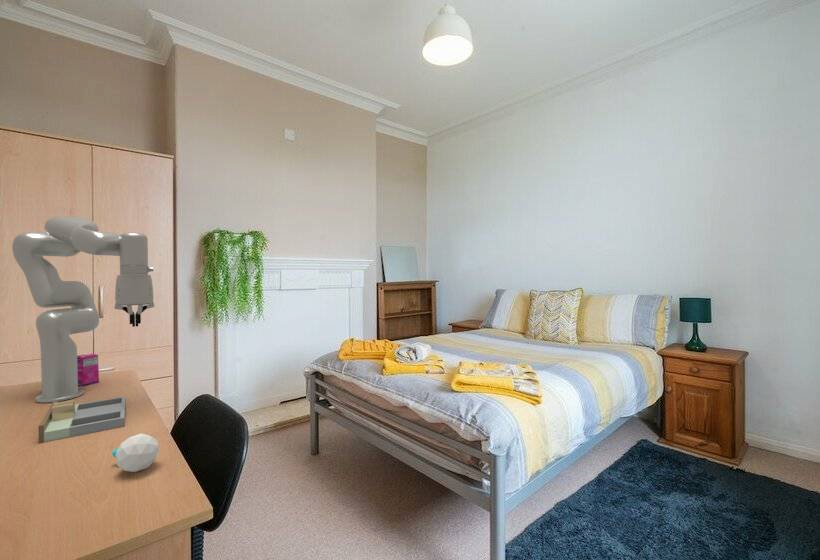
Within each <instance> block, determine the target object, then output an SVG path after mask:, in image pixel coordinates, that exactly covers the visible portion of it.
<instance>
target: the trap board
mask: <svg viewBox="0 0 820 560" xmlns="http://www.w3.org/2000/svg"><path fill="white" fill-rule="evenodd" d="M126 398H127V397H126V396H119V397H113V398H108V399H101V400H95V401H88V402H82V403H75V415H74V417H73V418H70V419H64V420H59V421H53V422H52V407H53V405H54V403H59V401H53V402H51V404H50V407H49V408H48V409H47V411H46V412H45V415H44V416H43V418H42V420H41V421H40V423H39V424H38V444H39V443H46V442H51V441H56V440H61V439H66V438H70V437H71V438H73V437H76V436H81V435H86V434H91V433H97V432H101V431H106V430H112V429H116V428H117V429H118V428H123V427H125V426H126V425H125V424H126V421H125V420H126V409H127V408H126V407H127V406H126V405H127V399H126Z"/></svg>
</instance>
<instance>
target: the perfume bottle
mask: <svg viewBox="0 0 820 560" xmlns="http://www.w3.org/2000/svg"><path fill="white" fill-rule="evenodd" d="M159 447H160V446H159V441H158V440H157V439H156V438H155V437H154V436H151V435H148V434H145V433H142V432H141V433H138V434H135V435H132V436H129V437H128V438H126V439H125V440H124V441H123V442H121V443H120V445H119V447H118V448H115V449H114V450H113V451H112V452H111V453H112V456H113V457H114V458H115V461H116V466H118V467H119V468H121V469H122V470H123V471H125V472H130V473H137V472H139V471H143V470H146V469H147V468H148V467H150V465H152V464H153V463H154V462H155V461H156V459H157V456H158V454H159V451H160V448H159Z"/></svg>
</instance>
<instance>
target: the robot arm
mask: <svg viewBox="0 0 820 560" xmlns="http://www.w3.org/2000/svg"><path fill="white" fill-rule="evenodd" d="M44 230H45V232H41V231H27V232H22V233H18V234H17V235H16V236H15V237H14V239H13V242H12V246H11V248H12V249H11V250H12V254H13V258H14V259H15V262H16V263H17V265H18V266H19V268H20V269H21V271H22V272H23V273H24V276H25V279H26V281H27V286H28V288H29V291H30V293H31V296H32V299H33V302H34V303H35V304H36V305H37V306H38V307H39V308H45V309H47V308H49V310H46V311H44V312H41V313H39V315H37V317H36V319H35V327H36V331H37V334H38V340H39V344H40V345H39V346H40V369H41V370H40V375H41V376H40V377H41V393H40V394H38V396H36V397H35V402H37V403H39V404H40V403H42V404H44V403H46V404H47V403H53V401H58V402H64V401H69V400H71V399H75V398H77V397H80V396H82V395H83V394H84V389H82V388H79V385H78V369H77V356H78V345H77V344H76V342H75V340H73V338H71V335H75V334H81V333H89V332H91V331H94V330H95V329H97V327H98V326H99V324H100V316H99V312H98V309H97V307H96V304H95V302H94V301H95V300H94V298H93V296H92V293H91V291H90V288H89V287H88V286H87V285H86V284H85V283H83V282H82V281H77V280H62V278H60V275H59V272H58V269H57V268H56V266H54V265H53V263H51V262H50V261H49V260H48V259H45V258H44V257H63V258H64V257H65V258H67V257H73V256H76V255H78V254H79V253H80V252H82V253H86V254H89V255H95V256H113V257H119V274H118V275H117V276H116V281H115V291H114V292H115V294H114V295H115V296H114V298H115V299H114V300H115V304H114V309H115V310H120V311H124V312H125V313H127V314H128V315H129V325H132V328H135V327H139V324H141V323H142V322H141V321H142V319H141V318H142V317H141V315H142V313H143V312H145V311H146V310H148V309H151V308H155V303H154V285H153V279H152V275H151V274H149V273H151V272H154V267H152V266H149V253H148V251H149V249H148V248H149V247H148V246H149V245H148V244H149V243H148V237H147V235H146V234H144V233H136V232H124V233H117V232H116V233H115V232H109V231H108V232H105V231H100V230H99V227H98V225H97V224H96V223H95V222H94V221H93V220H92V219H89V218H88V219H87V218H83V217H82V218H81V217H73V216H67V215H66V216H65V215H64V216H63V215H61V216H60V215H57V216H52V217H50V218H48V219H47V220H46V221H45V223H44ZM133 306H137V310H136V312H134V310H133ZM63 307H64V308H63ZM65 307H66V308H65ZM67 307H68V308H67ZM50 308H51V309H50ZM53 308H57V309H53Z"/></svg>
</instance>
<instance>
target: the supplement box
mask: <svg viewBox="0 0 820 560" xmlns="http://www.w3.org/2000/svg"><path fill="white" fill-rule="evenodd" d="M77 369H78V386H82V387H85V386H89V385H93V384H96V383H97V384H98V383H100V377H99V375H100V373H99V355H98V354H95V353H90V352H89V353H84V354H81V355H77Z"/></svg>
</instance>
